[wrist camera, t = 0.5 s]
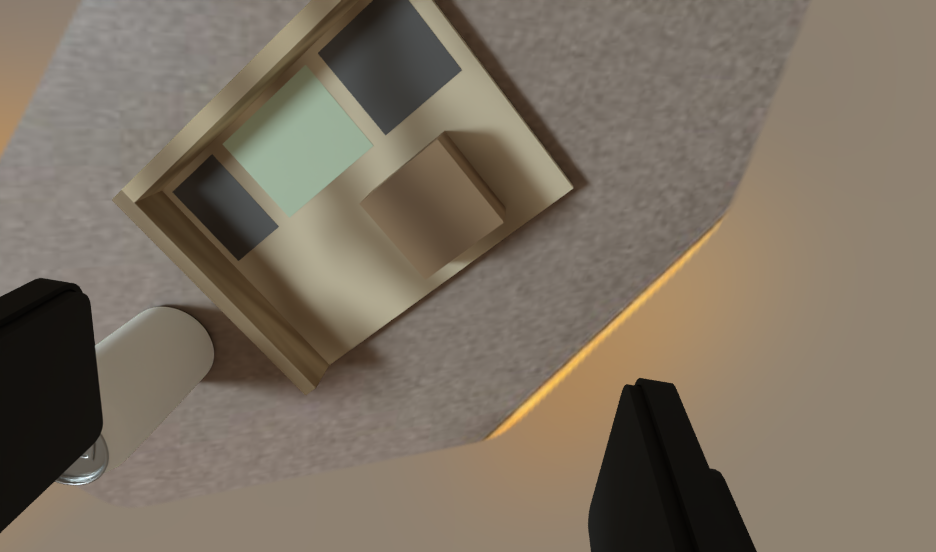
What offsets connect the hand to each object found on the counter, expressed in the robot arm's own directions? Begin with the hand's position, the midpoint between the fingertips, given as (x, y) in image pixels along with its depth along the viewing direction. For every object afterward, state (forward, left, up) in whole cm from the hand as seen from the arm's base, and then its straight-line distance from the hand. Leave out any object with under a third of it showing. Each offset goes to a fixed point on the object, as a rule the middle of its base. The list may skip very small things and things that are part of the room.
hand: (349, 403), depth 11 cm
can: (+27, -2, -29) cm, 40 cm away
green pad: (+9, -7, -29) cm, 31 cm away
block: (+4, +1, -28) cm, 28 cm away
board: (+8, -3, -29) cm, 30 cm away
